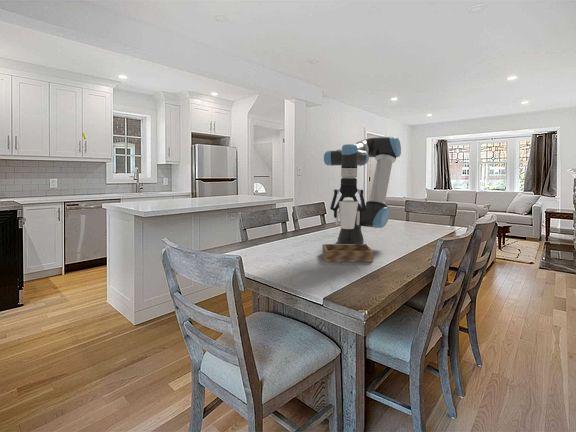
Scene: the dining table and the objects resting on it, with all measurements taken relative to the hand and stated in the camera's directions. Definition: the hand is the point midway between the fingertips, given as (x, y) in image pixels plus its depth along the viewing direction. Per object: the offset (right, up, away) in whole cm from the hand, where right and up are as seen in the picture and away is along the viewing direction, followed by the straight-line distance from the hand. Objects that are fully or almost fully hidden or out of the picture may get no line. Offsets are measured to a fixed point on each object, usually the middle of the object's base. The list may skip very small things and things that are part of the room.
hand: (347, 224), depth 161 cm
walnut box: (0, -16, +2) cm, 16 cm away
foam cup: (0, -2, 0) cm, 2 cm away
